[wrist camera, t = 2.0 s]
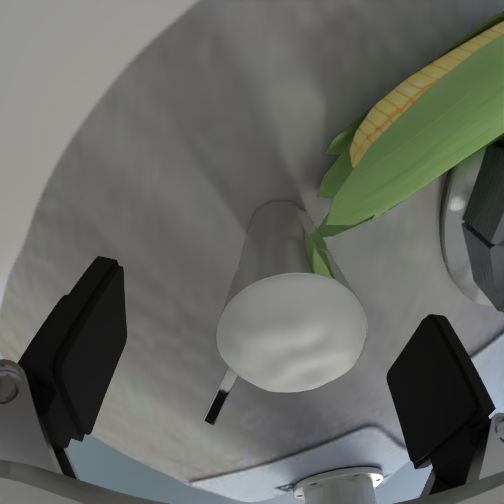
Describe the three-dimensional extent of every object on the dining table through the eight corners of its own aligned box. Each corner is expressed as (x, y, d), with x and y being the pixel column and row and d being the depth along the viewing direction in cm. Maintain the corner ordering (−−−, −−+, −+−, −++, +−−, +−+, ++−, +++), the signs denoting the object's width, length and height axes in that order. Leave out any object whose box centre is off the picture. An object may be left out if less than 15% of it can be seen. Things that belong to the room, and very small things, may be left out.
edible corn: (593, 83, 6) (582, 11, 4) (334, 282, 13) (272, 220, 11) (535, 53, 10) (516, -8, 7) (304, 212, 17) (252, 155, 14)
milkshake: (205, 227, 16) (150, 383, 8) (293, 168, 15) (339, 292, 6) (256, 287, 18) (251, 451, 9) (339, 239, 16) (403, 393, 8)
